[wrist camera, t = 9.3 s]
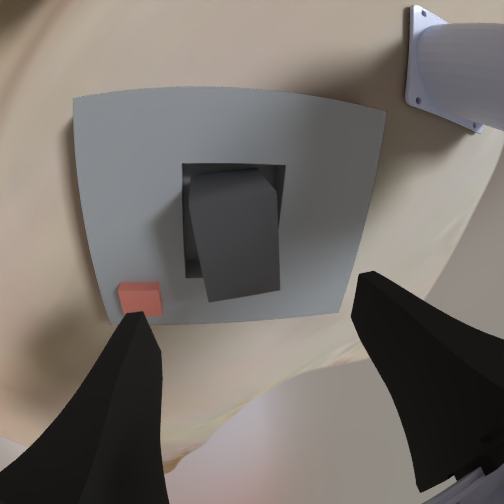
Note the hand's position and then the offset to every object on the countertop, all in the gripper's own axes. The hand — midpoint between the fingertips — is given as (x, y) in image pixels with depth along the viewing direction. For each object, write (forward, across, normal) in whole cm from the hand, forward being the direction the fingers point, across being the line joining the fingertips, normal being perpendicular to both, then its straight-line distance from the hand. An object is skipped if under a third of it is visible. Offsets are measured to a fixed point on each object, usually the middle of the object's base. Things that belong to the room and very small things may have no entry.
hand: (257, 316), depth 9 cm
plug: (+9, 0, 0) cm, 9 cm away
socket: (+9, 0, 0) cm, 9 cm away
